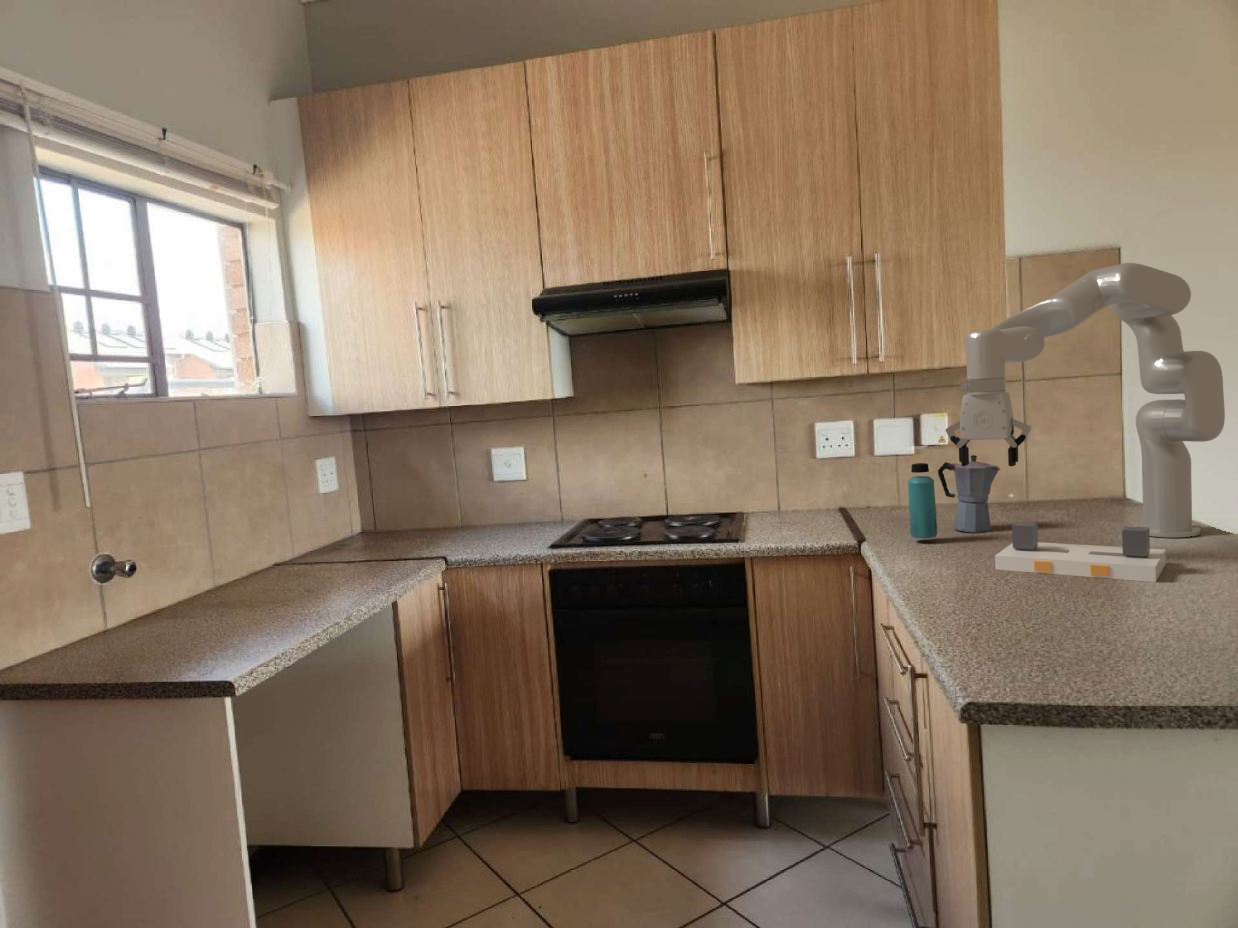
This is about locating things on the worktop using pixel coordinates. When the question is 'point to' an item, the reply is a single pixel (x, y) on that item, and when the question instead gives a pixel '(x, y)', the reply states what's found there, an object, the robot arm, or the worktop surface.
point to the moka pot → (971, 494)
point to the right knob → (1136, 541)
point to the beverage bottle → (922, 504)
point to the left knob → (1025, 535)
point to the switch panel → (1083, 561)
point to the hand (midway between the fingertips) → (988, 465)
